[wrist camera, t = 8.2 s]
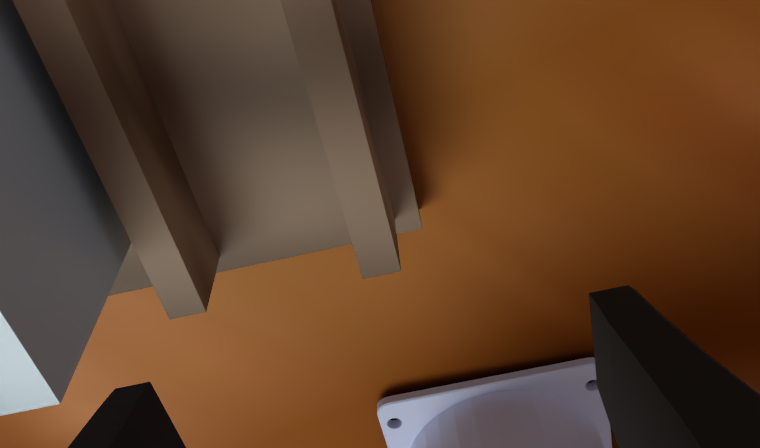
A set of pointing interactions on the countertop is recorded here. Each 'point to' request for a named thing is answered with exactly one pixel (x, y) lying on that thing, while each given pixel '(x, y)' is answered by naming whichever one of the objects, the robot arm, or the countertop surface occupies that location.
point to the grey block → (46, 231)
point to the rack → (232, 132)
